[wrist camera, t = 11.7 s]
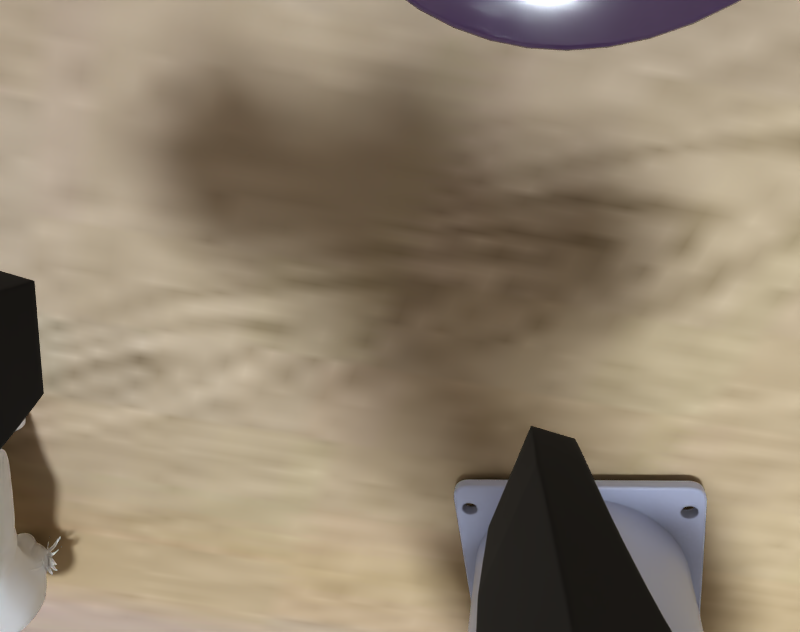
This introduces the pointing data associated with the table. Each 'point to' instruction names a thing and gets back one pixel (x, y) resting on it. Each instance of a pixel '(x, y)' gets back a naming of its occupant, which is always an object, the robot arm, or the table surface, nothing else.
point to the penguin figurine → (19, 562)
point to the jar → (569, 20)
